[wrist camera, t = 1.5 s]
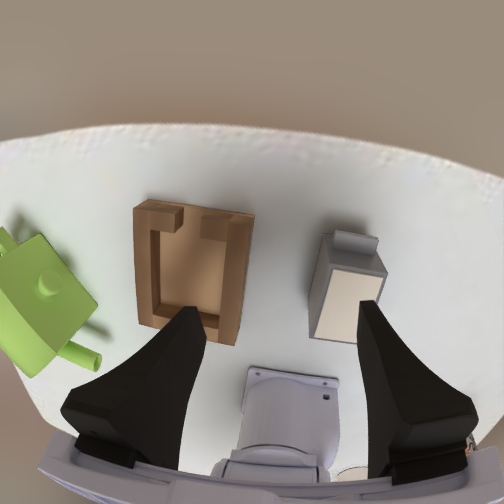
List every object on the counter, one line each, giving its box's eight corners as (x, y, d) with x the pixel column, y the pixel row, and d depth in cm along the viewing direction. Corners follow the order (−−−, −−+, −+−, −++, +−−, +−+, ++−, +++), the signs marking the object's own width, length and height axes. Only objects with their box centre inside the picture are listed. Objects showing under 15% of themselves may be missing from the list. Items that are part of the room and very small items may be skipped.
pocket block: (254, 215, 24) (249, 226, 22) (239, 328, 29) (234, 346, 27) (147, 199, 25) (133, 208, 23) (149, 308, 30) (138, 323, 27)
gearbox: (137, 328, 32) (100, 389, 23) (93, 357, 35) (58, 409, 26) (33, 200, 27) (-30, 231, 18) (4, 250, 30) (-47, 284, 21)
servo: (375, 227, 23) (394, 257, 18) (348, 315, 27) (356, 358, 22) (326, 218, 24) (334, 246, 19) (305, 309, 27) (305, 352, 22)
